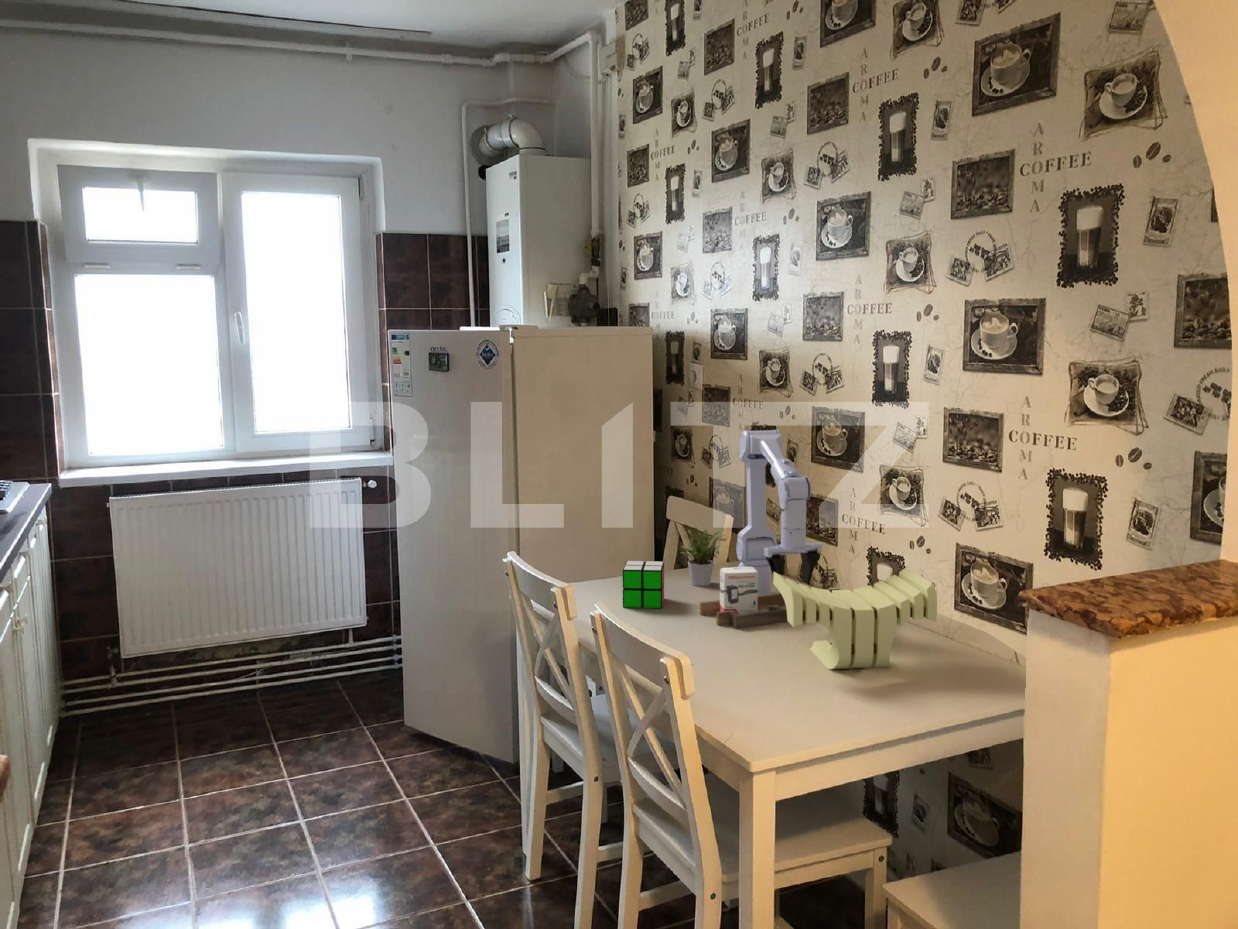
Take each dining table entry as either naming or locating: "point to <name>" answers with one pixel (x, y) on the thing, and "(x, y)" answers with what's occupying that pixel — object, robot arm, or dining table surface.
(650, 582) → the puzzle cube
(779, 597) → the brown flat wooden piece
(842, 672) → the dining table surface
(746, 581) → the ink box
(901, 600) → the slatted curved stool
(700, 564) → the house plant
